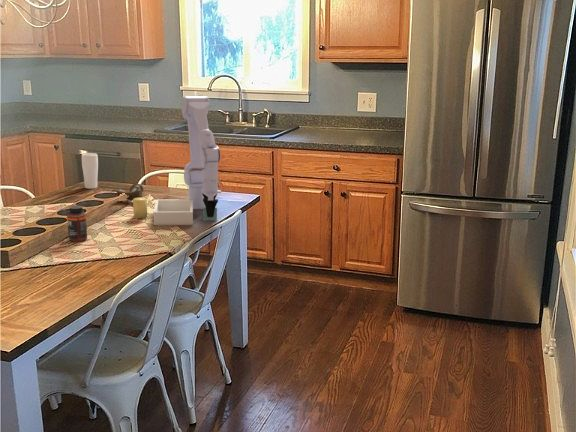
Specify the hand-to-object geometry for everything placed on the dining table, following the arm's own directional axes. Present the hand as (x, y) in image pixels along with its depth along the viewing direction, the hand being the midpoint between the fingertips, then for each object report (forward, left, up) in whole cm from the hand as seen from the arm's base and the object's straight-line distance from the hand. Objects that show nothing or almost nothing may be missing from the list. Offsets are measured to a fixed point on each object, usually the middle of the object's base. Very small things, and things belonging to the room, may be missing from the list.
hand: (210, 214), depth 237 cm
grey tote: (0, -14, -2) cm, 14 cm away
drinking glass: (-48, -51, -2) cm, 70 cm away
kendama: (-28, -31, -2) cm, 42 cm away
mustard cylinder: (-2, -26, -2) cm, 26 cm away
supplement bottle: (+24, -45, -2) cm, 51 cm away
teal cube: (0, 0, -2) cm, 2 cm away
